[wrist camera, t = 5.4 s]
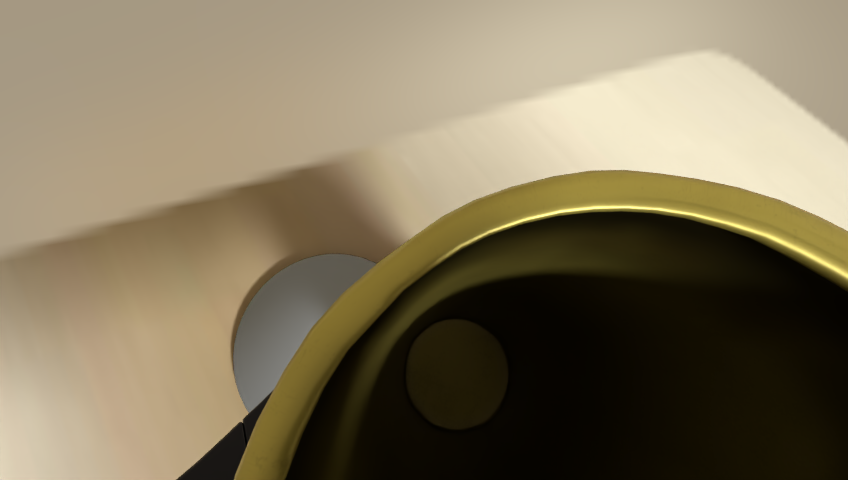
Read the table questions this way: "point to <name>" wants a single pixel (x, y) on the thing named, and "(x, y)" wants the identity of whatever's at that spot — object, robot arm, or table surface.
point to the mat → (287, 318)
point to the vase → (579, 344)
